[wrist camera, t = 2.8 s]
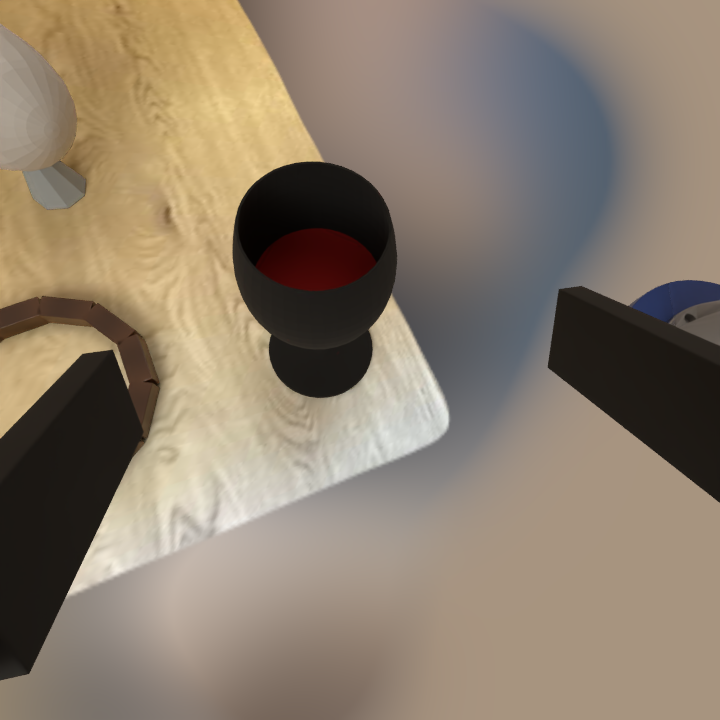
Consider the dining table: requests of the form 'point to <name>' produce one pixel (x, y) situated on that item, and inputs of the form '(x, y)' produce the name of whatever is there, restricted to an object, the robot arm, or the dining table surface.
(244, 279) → the wine glass
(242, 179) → the dining table surface
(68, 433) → the robot arm
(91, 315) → the walnut ring
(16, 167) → the beige ovoid on pedestal
